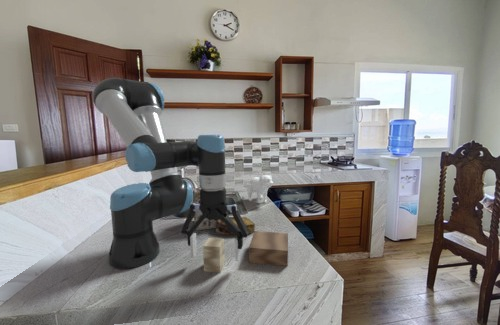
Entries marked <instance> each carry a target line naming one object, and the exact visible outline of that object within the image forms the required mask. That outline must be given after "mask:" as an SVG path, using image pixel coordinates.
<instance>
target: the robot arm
mask: <svg viewBox="0 0 500 325" xmlns="http://www.w3.org/2000/svg"><path fill="white" fill-rule="evenodd" d="M164 101H165V97H164V92H163V91H162V88H160V86H158V84H155V83H152V82H149V81H139V80H135V79H134V80H132V79H128V78H127V79H126V78H120V77H110V78H109V77H108V78H106V79H104V80H101V81H99V82H98V83H97V84H96V86H95V87H94V89H93V91H92V102H93V104H94V106H95V107H96V109H97V111H98V112H100V113H101V114H102V115H105V116H106V118H107V119H108V120H109V122H110V124H111V125H112V127H113V128H114V129H115V131H116V132H117V134H118V135H119V137H120V138H121V140H122V141H123V143H124V144H125V145H126V148H125V161H126V164H127V167H128V168H129V170H130V171H132V172H133V173H134V172H135V173H141V172H142V173H143V172H145V173H147V172H150V175H151V179H150V181H149V183H147V182H139V183H131V184H128V185H127V184H126V185H124V186H121V187H118V188H117V189H115V190H114V191H113V192H112V193H111V195H110V196H109V197H110V200H109V202H110V204H109V205H110V206H109V209H110V214H111V226H112V236H113V237H112V241H111V244H110V245H111V246H110V248H109V252H108V255H107V256H108V263H109V265H110V266H111V267H113V268H116V269H131V268H133V269H134V268H136V267H140V266H143V265H146V264H148V263H150V262H152V261H153V260H155V259H156V258H157V257H158V256H159V254H160V252H161V248H160V247H161V245H160V244H159V240H158V239H157V236H156V233H155V232H154V228H153V226H154V225H153V224H154V223H153V222H154V221H157V220H160V219H164V218H166V217H170V216H173V215H179V214H181V213H182V212H185V211H187V210H189V213H188V214H187V217H186V219H185V222H184V223H183V226H182V228H181V230H180V233H181V235H186V237H187V238H186V239H187V245H188V246H189V247H190V258H193V259H194V258H195V257H196V255H197V254H198V249H197V247H198V246H197V233H196V232H195V231H197V230H196V228H197V227H198V226H199V225H200V224H201V222H202V221H203V220H204V219H205V218H207V219H208V220H212V219H213V220H219V219H220V220H221V221H222V222H224V223H225V224H226V225H227V227H228V228H229V229H230V230H231V231H232V233H233V234H232V235H234V236H235V239H234V254H235V255H234V261H236V262H238V261H239V259H240V256H241V255H240V250H242V249H243V246H244V243H243V242H244V240H243V239H244V238H245V239H246V238H247V237H248V236H249V234H250V233H249V231H248V229H247V227H246V225H245V223H244V222H243V220H242V216H241V214H240V212H239V208H238V203H234V204H228V203H227V189H226V186H227V181H226V179H227V178H226V177H227V175H226V146H225V138H224V136H223V135H222V134H200V135H198V136H197V141H196V140H195V141H194V140H193V141H191V140H182V141H169V142H168V141H167V138H166V134H165V131H164V129H163V124H162V121H161V118H160V116H161V115H162V112H163V110H164V107H165V102H164ZM189 166H190V167H191V166H192V167H193V166H194V167H198V175H199V176H198V178H199V182H198V183H199V187H200V188H201V190H200V202H201V203H200V204H197V203H196V202H194V203H193V190H194V189H193V187H192V184H191V183H190V182H189V181H188V180H186V179H183V176H182V174H181V173H179V172H178V171H176V168H182V167H189ZM198 209H200V211H201V212H202V213H203V214H202V215H201V217H200V218H199V219H198V220H197V222H196V223H195V222H194V224H193V225H192V221H193V220H194V215H195V213H196V211H197V210H198ZM227 211H229V212H230V213H231V214H232V217H234V219H235V221H236V223H237V225H238V227H239V228H238V227H237V226H236V225H235V223H234V222H233V221H232V220H231V219H230V218H229V217H230V216H229V214H228V213H227ZM191 225H192V226H191ZM190 226H191V227H190Z"/></svg>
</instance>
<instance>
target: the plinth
mask: <svg viewBox="0 0 500 325" xmlns="http://www.w3.org/2000/svg"><path fill="white" fill-rule="evenodd" d="M252 234H253V235H252V237H251V240H250V243H249V247H248V262H249V263H252V264H254V263H255V264H263V265H271V266H272V265H275V266H282V267H283V266H284V267H288V263H289V262H288V261H289V234H288V233H287V232H276V231H275V232H271V231H258V230H255V231H254V233H252Z"/></svg>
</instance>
